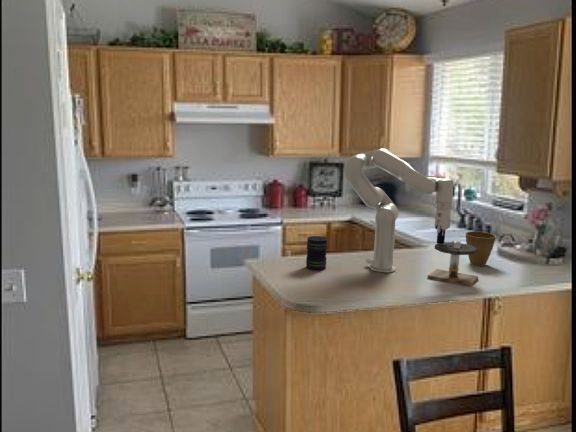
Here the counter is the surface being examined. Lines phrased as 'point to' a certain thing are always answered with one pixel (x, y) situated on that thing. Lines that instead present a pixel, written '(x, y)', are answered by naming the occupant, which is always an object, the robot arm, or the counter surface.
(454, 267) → the steel pipe
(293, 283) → the counter surface
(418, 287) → the counter surface
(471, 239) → the plant pot
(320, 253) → the storage jar
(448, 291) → the counter surface
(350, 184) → the robot arm
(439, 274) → the base board
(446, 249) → the grey petal ring
